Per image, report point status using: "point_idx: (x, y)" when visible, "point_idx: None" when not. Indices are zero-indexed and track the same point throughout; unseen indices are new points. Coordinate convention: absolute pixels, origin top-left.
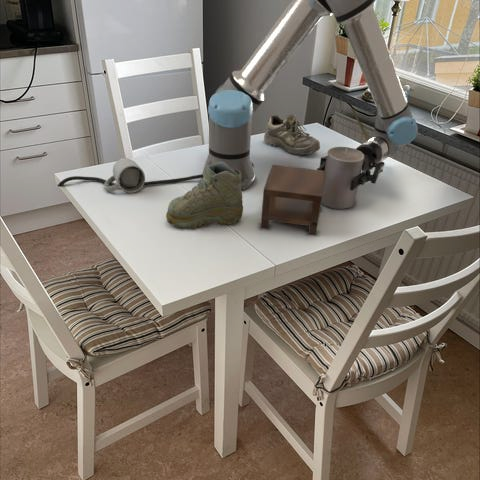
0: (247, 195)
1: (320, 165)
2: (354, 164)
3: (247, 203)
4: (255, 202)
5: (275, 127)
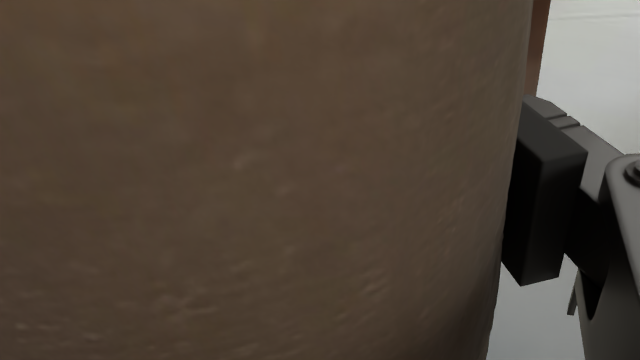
0: (633, 98)
1: (547, 106)
2: None
3: (546, 80)
4: (543, 97)
5: None
